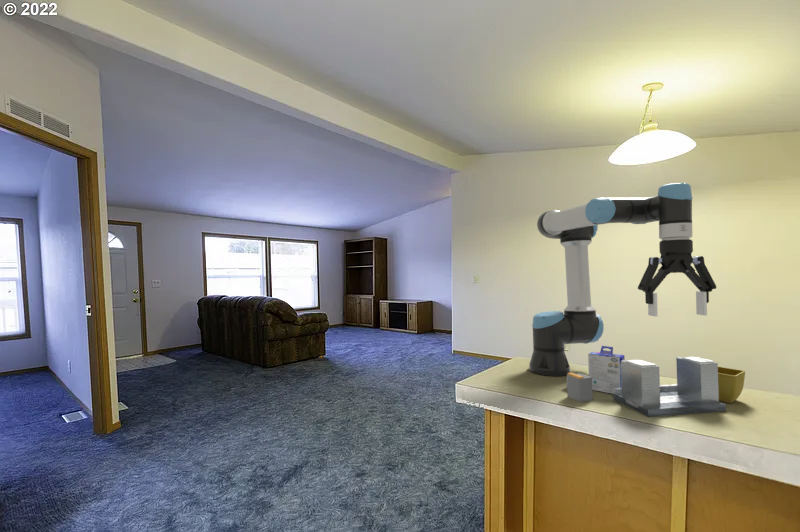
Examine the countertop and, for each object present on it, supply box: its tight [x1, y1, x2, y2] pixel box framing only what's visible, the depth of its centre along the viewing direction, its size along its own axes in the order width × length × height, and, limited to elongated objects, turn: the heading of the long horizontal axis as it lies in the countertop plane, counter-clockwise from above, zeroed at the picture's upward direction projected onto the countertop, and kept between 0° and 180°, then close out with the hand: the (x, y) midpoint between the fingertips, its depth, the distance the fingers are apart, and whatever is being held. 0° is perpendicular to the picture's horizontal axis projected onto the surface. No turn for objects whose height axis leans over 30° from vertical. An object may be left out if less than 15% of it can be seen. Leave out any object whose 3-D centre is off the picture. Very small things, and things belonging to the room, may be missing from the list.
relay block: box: [566, 371, 594, 403], centre depth 117 cm, size 5×5×8 cm
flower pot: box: [718, 366, 746, 404], centre depth 114 cm, size 9×9×9 cm
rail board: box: [612, 356, 727, 418], centre depth 110 cm, size 14×24×13 cm, turn 97°
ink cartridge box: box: [587, 345, 626, 395], centre depth 124 cm, size 10×6×14 cm, turn 45°
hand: (677, 315), depth 104 cm, fingers open, 13 cm apart
